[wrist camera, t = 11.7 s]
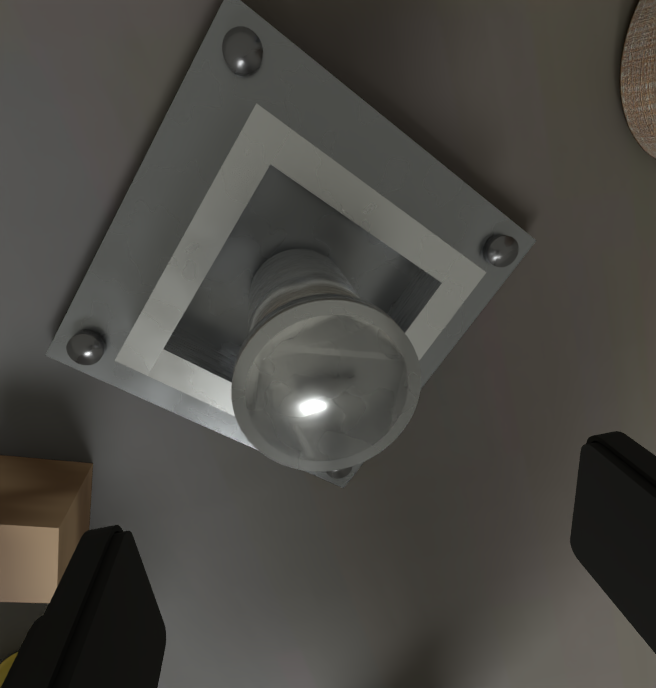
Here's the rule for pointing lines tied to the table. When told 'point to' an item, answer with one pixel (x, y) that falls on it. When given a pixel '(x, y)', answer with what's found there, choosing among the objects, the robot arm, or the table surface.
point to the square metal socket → (274, 227)
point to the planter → (640, 76)
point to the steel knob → (320, 368)
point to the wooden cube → (40, 523)
